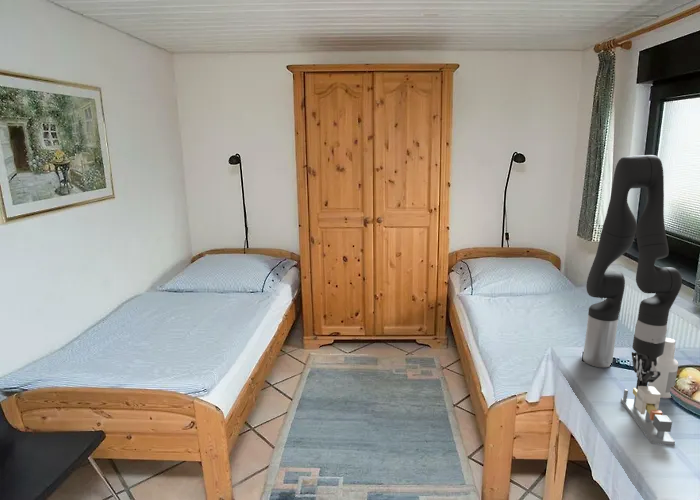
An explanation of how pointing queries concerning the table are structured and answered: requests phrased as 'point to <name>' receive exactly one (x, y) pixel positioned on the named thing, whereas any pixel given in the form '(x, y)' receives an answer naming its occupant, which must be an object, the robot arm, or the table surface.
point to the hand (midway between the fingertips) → (641, 390)
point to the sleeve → (647, 398)
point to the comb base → (646, 423)
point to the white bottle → (666, 370)
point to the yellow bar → (657, 417)
